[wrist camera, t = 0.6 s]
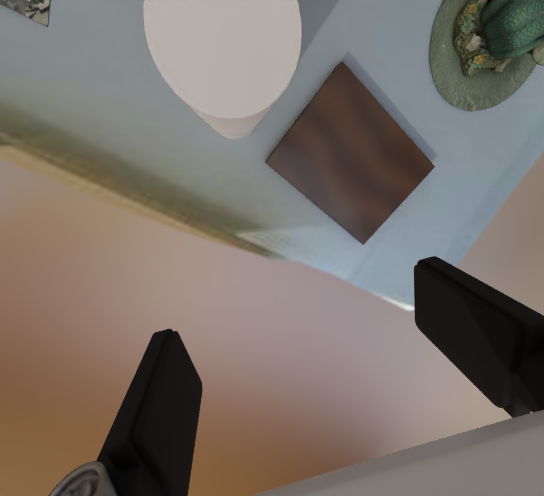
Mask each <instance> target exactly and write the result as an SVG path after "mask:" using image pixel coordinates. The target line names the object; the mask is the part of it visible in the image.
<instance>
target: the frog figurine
mask: <svg viewBox="0 0 544 496" xmlns="http://www.w3.org/2000/svg"><path fill="white" fill-rule="evenodd" d="M430 64H431V70H432V74H433V78H434V81H435V84H436V86H437V88H438V90H439V92H440V93H441V95H442V96H443V97H444V98H445V99H446V100H447V101H448V102H449V103H451V104H452V105H454V106H456V107H458V108H460V109H464V110H467V111H476V110H482V109H487V108H490V107H493V106H496V105H498V104H499V103H501V102H503V101H504V100H506V99H507V98H508V97H510V96H511V95H512V94H513V93H515V92H516V91H517V90H518V89H519V88H520V87H521V86H522V84H523V83H524V82H525V81H526V79H527V78H528V76H529V75H530V74H531V73H532V71H533V70H534V68H535V66H536V64H538V65H544V0H444V2H443V4H442V6H441V8H440V10H439V12H438V14H437V17H436V20H435V23H434V27H433V33H432V39H431V46H430Z"/></svg>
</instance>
